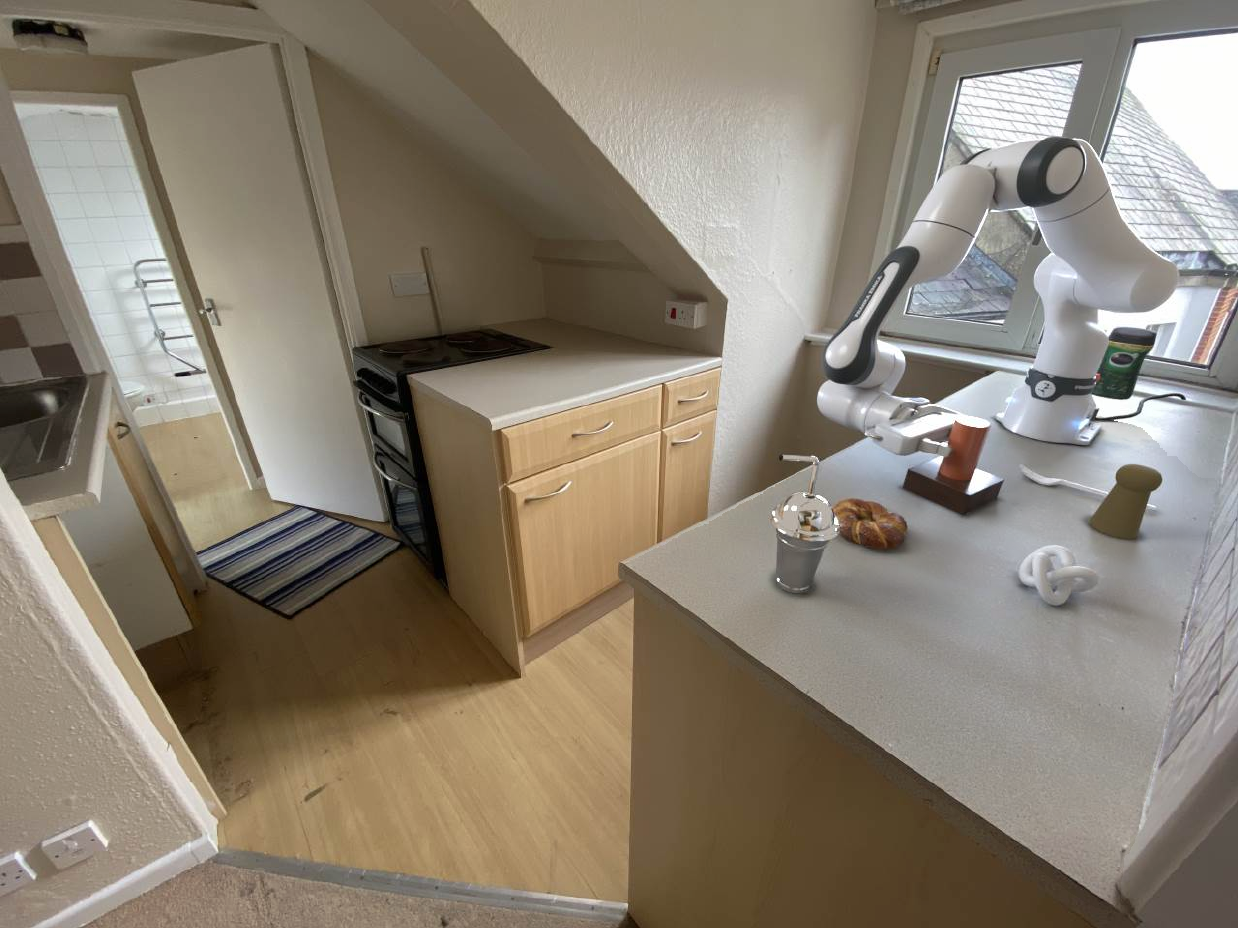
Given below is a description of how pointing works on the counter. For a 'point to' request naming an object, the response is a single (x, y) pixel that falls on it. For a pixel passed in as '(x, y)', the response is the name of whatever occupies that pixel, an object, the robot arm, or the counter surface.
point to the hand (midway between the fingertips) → (965, 446)
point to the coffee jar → (1123, 362)
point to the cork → (1126, 501)
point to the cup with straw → (802, 532)
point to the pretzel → (869, 524)
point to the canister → (965, 447)
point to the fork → (1065, 483)
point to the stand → (952, 487)
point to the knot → (1055, 574)
